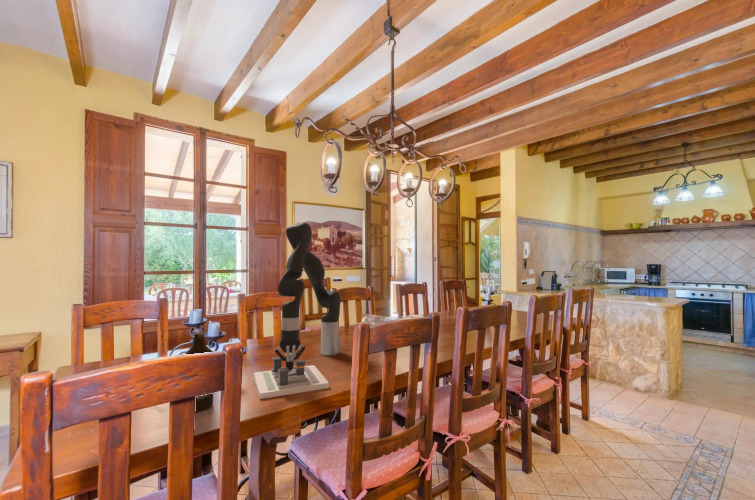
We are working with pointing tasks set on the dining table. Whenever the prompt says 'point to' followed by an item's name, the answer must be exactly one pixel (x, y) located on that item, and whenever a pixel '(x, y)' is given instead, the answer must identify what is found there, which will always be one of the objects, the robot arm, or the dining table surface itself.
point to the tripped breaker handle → (300, 367)
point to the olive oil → (200, 347)
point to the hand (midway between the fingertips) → (289, 370)
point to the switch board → (288, 380)
